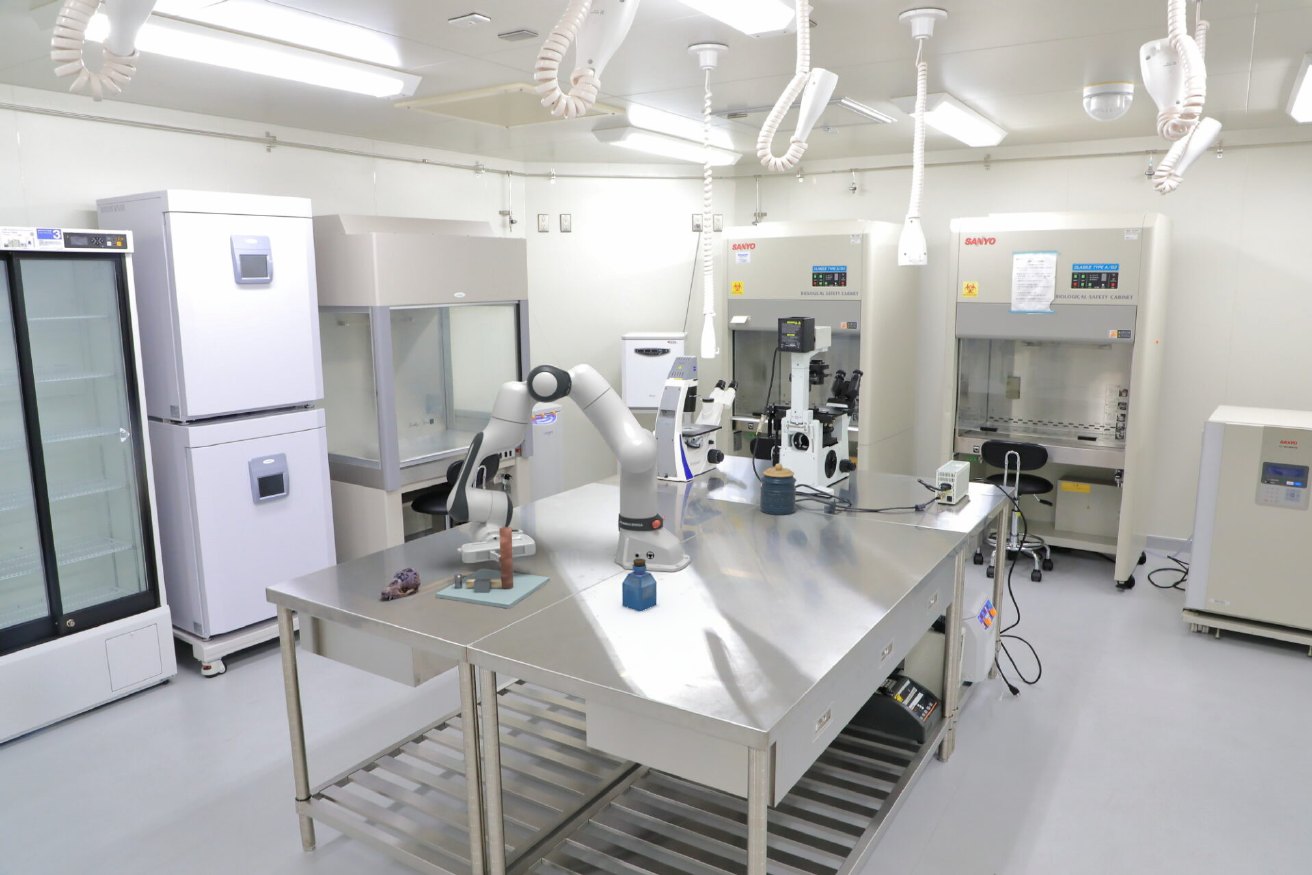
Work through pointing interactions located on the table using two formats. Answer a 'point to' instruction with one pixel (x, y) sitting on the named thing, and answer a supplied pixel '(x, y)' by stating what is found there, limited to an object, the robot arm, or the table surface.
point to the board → (495, 589)
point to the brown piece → (502, 562)
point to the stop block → (482, 585)
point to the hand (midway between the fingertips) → (505, 558)
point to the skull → (402, 583)
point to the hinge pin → (458, 581)
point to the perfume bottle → (639, 588)
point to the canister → (778, 491)
